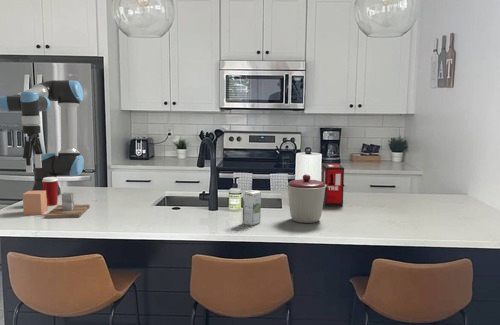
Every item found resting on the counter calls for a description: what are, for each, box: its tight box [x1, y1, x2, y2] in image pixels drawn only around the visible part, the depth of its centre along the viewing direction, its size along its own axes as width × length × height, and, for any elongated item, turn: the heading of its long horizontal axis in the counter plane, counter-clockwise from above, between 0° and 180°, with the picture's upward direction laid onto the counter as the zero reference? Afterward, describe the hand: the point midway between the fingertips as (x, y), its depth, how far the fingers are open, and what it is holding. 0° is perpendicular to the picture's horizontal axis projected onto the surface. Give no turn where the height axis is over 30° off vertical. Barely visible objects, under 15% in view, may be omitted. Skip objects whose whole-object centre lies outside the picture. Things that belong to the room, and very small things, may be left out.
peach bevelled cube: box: [22, 190, 48, 216], centre depth 219 cm, size 8×8×10 cm
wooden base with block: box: [44, 191, 90, 219], centre depth 220 cm, size 20×15×10 cm
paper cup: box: [42, 176, 59, 207], centre depth 236 cm, size 8×8×14 cm
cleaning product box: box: [321, 162, 345, 207], centre depth 242 cm, size 16×9×20 cm, turn 179°
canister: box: [285, 174, 327, 224], centre depth 206 cm, size 18×18×21 cm
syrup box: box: [242, 189, 262, 227], centre depth 201 cm, size 6×6×14 cm
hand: (34, 170), depth 216 cm, fingers open, 13 cm apart
